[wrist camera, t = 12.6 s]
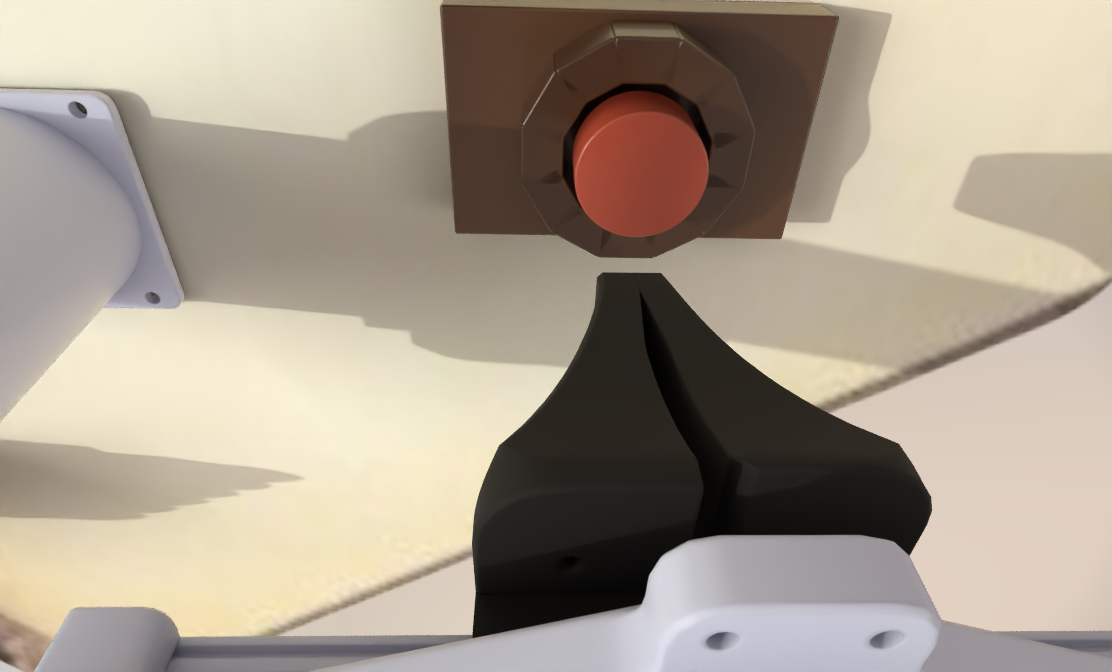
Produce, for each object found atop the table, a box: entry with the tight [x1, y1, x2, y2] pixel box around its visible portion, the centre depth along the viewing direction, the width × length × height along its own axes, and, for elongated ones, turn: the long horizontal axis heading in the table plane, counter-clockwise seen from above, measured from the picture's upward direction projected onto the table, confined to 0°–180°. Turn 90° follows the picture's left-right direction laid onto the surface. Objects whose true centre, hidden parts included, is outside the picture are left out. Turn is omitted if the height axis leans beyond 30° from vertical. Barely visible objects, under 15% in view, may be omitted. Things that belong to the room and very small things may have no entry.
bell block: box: [440, 0, 839, 258], centre depth 21 cm, size 11×7×4 cm, turn 88°
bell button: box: [572, 91, 709, 237], centre depth 19 cm, size 4×4×2 cm
